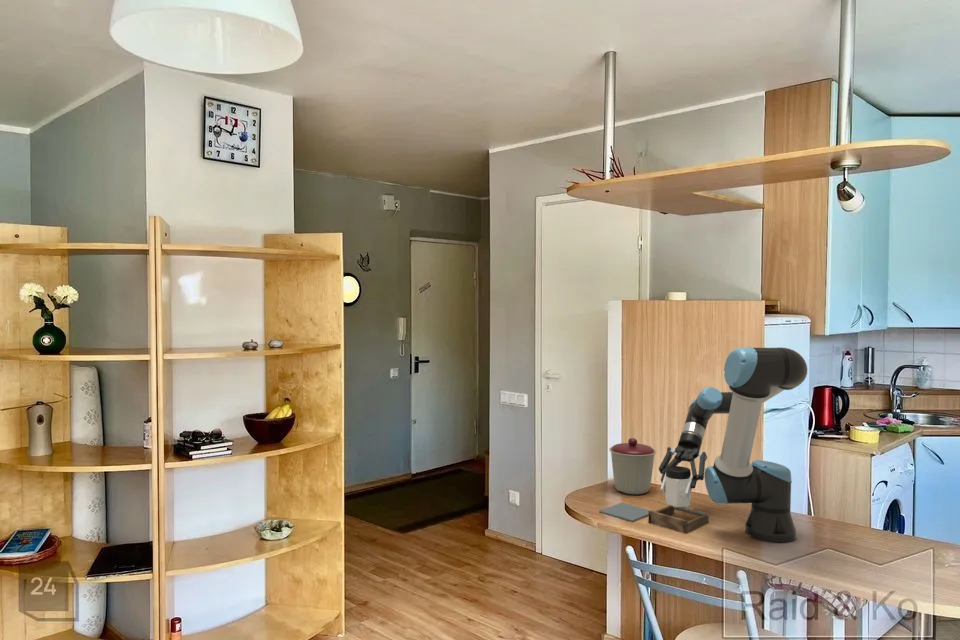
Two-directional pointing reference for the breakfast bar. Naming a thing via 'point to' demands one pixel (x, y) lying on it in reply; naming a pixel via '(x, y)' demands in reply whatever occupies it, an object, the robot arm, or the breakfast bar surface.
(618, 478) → the canister
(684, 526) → the jar holder
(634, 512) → the mat
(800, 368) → the robot arm
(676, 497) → the jar
